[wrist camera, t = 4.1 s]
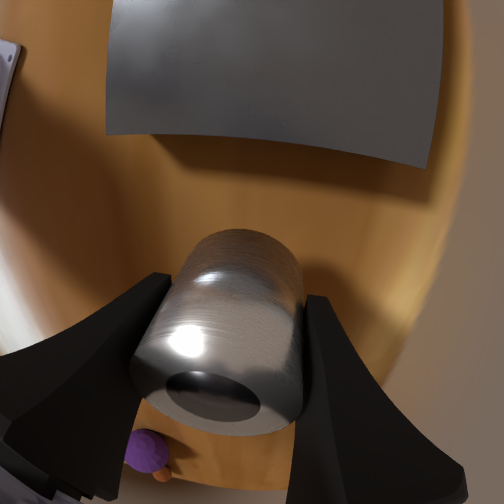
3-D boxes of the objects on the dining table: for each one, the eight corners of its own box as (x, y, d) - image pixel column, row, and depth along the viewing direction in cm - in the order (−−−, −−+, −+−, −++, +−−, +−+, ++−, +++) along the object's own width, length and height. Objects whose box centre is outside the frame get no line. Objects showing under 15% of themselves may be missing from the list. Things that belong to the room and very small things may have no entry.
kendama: (139, 477, 36) (107, 450, 24) (154, 453, 41) (131, 414, 29) (170, 493, 35) (151, 476, 23) (184, 468, 39) (174, 437, 28)
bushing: (262, 340, 12) (245, 447, 8) (169, 291, 12) (116, 391, 7) (327, 271, 10) (341, 393, 6) (217, 204, 9) (155, 306, 5)
